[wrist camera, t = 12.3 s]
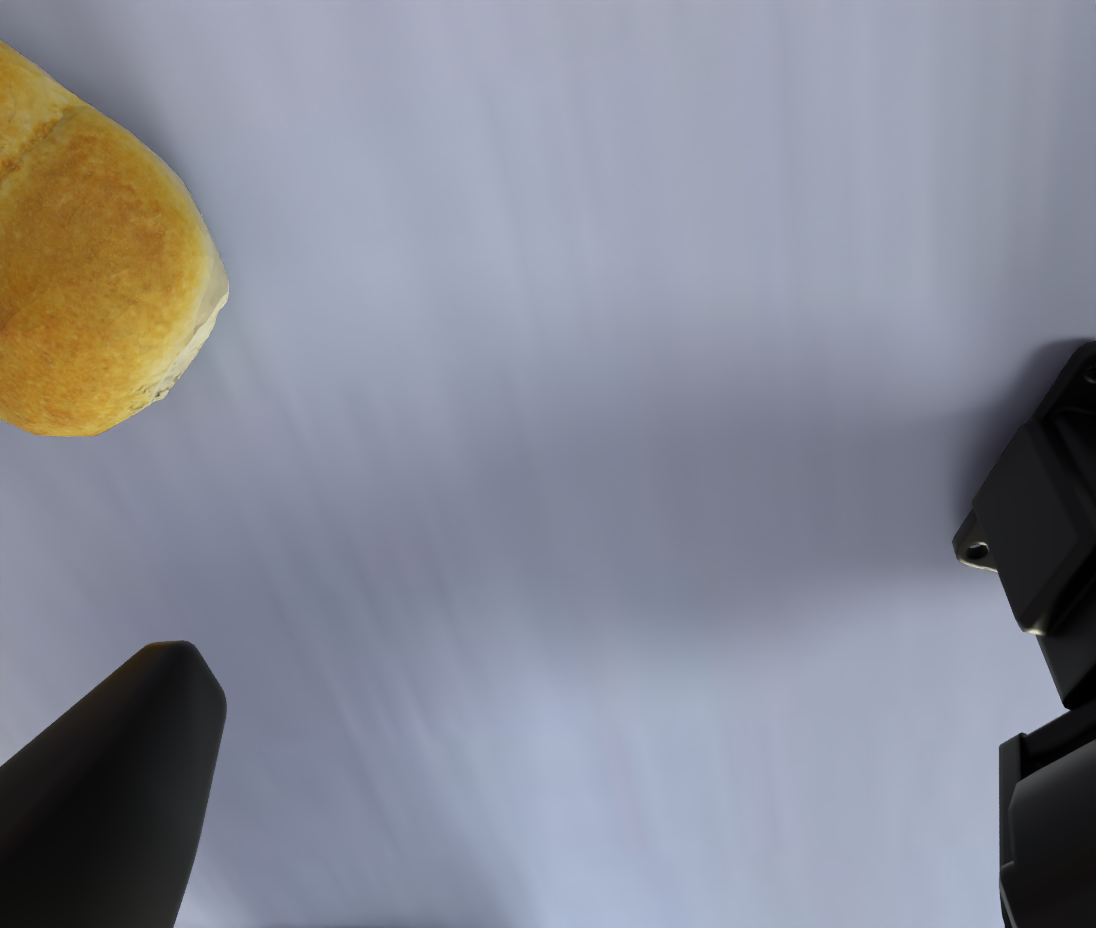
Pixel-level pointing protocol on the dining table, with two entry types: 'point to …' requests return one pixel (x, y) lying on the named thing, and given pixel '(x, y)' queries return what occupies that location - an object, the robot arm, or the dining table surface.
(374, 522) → the dining table surface
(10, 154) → the bread roll
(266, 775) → the dining table surface
